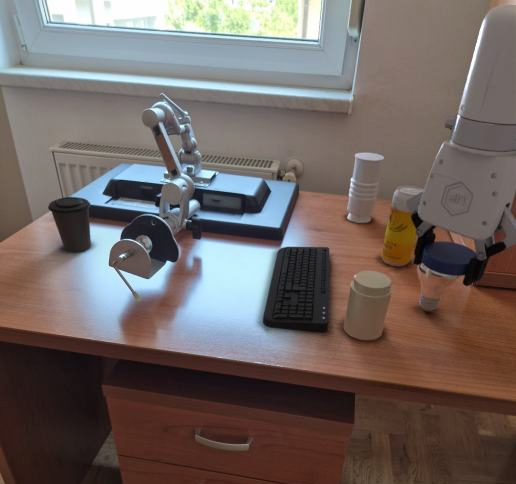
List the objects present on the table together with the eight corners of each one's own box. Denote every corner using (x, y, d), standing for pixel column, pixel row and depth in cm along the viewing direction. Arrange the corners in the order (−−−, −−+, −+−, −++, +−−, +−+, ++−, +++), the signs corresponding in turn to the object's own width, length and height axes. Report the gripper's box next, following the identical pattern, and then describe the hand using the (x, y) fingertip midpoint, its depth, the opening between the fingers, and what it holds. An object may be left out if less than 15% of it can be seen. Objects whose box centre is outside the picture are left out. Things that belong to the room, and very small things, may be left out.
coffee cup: (49, 246, 100) (38, 199, 94) (83, 235, 105) (74, 190, 99) (71, 258, 96) (60, 210, 90) (105, 246, 101) (97, 200, 95)
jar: (390, 330, 79) (402, 280, 73) (366, 345, 75) (377, 293, 70) (359, 314, 83) (369, 265, 77) (335, 327, 79) (343, 277, 74)
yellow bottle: (376, 254, 103) (390, 184, 94) (403, 254, 103) (419, 184, 94) (385, 267, 98) (401, 195, 89) (414, 267, 98) (432, 195, 90)
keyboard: (277, 250, 103) (278, 241, 101) (328, 255, 102) (329, 246, 100) (261, 326, 79) (261, 316, 78) (327, 332, 78) (328, 322, 77)
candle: (375, 216, 121) (386, 154, 112) (370, 225, 116) (381, 161, 107) (348, 211, 123) (357, 151, 114) (342, 220, 118) (351, 157, 109)
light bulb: (414, 296, 89) (430, 235, 81) (451, 308, 85) (471, 246, 78) (400, 312, 84) (416, 249, 77) (439, 325, 81) (459, 261, 74)
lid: (410, 261, 65) (413, 250, 64) (438, 247, 69) (441, 236, 68) (457, 281, 61) (461, 269, 60) (484, 265, 65) (488, 254, 64)
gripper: (405, 124, 58) (377, 257, 69) (549, 157, 48) (491, 306, 59) (437, 118, 63) (407, 244, 73) (577, 147, 52) (518, 288, 63)
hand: (445, 271), depth 66 cm, fingers closed on lid, 7 cm apart
